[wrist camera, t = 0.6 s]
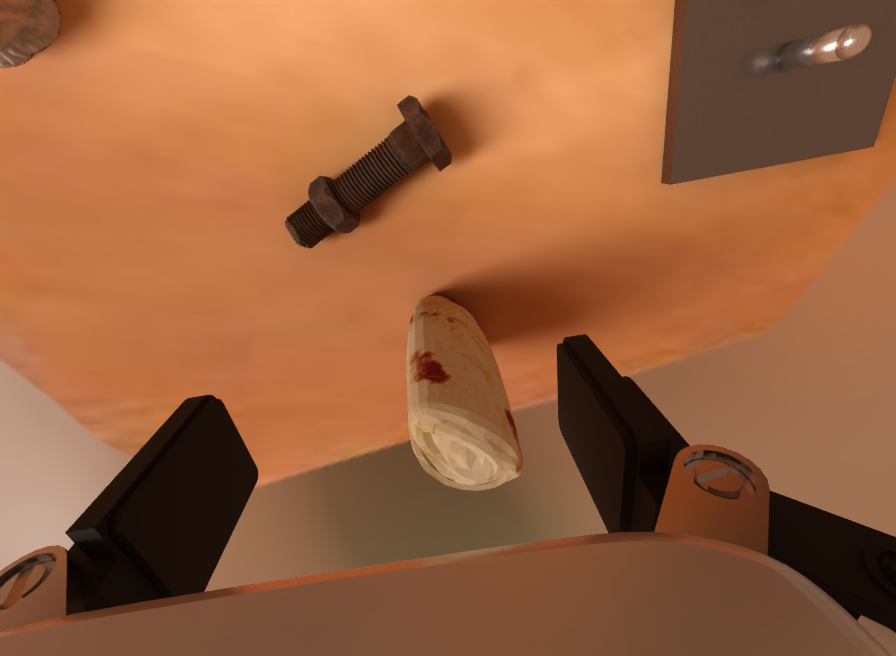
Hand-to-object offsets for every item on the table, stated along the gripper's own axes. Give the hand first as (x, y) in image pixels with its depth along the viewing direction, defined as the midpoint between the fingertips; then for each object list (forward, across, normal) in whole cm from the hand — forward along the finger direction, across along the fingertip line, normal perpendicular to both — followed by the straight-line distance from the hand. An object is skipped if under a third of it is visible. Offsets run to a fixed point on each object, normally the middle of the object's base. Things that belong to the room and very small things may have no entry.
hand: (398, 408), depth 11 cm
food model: (+28, -1, +11) cm, 30 cm away
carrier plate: (+28, -32, -12) cm, 44 cm away
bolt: (+28, +4, -4) cm, 29 cm away
